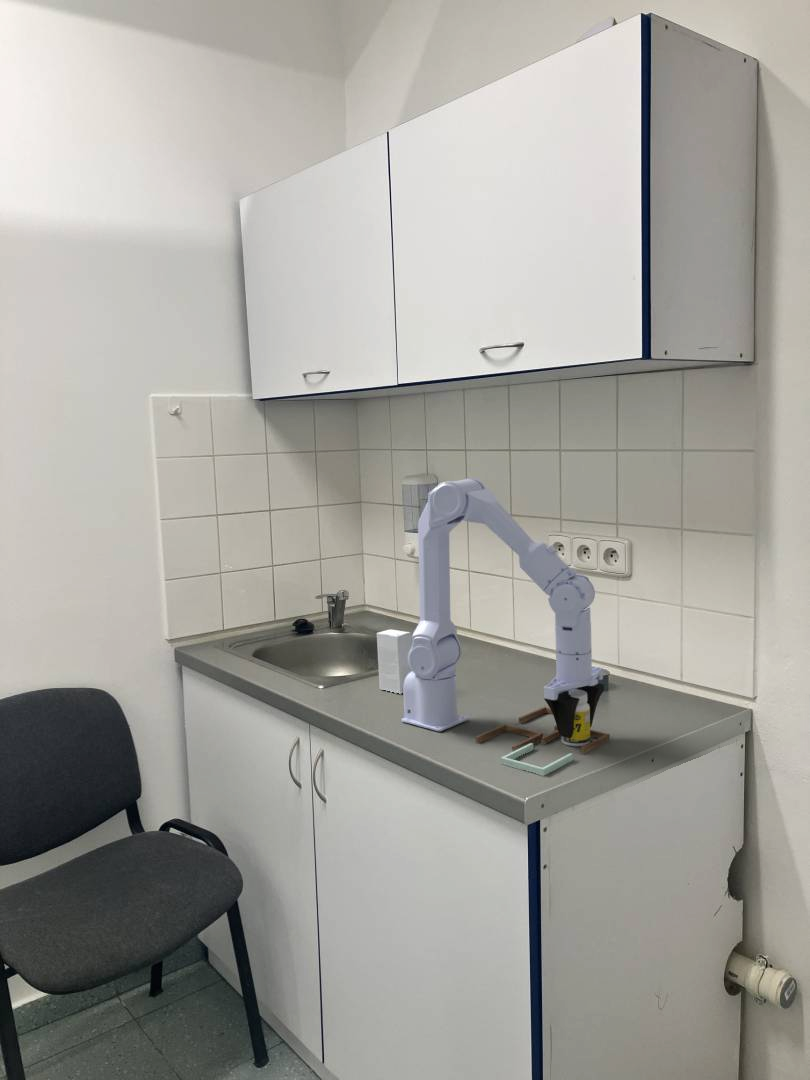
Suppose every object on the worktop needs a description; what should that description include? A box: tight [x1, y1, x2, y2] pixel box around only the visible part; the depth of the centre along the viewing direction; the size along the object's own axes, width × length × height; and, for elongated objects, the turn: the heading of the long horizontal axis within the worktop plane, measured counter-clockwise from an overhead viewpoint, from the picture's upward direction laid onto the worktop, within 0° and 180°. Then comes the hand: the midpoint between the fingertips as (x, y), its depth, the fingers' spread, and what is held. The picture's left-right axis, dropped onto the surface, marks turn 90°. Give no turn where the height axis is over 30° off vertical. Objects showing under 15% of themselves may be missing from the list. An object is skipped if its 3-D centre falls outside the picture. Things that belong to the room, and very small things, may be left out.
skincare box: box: [376, 629, 412, 695], centre depth 179 cm, size 6×4×12 cm
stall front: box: [540, 729, 611, 755], centre depth 146 cm, size 8×8×1 cm
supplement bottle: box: [560, 689, 591, 747], centre depth 145 cm, size 5×5×8 cm
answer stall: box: [500, 743, 574, 777], centre depth 138 cm, size 8×8×1 cm
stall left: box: [518, 705, 558, 731], centre depth 156 cm, size 8×8×1 cm
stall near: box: [475, 723, 544, 752], centre depth 147 cm, size 8×8×1 cm
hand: (575, 731), depth 145 cm, fingers open, 5 cm apart
